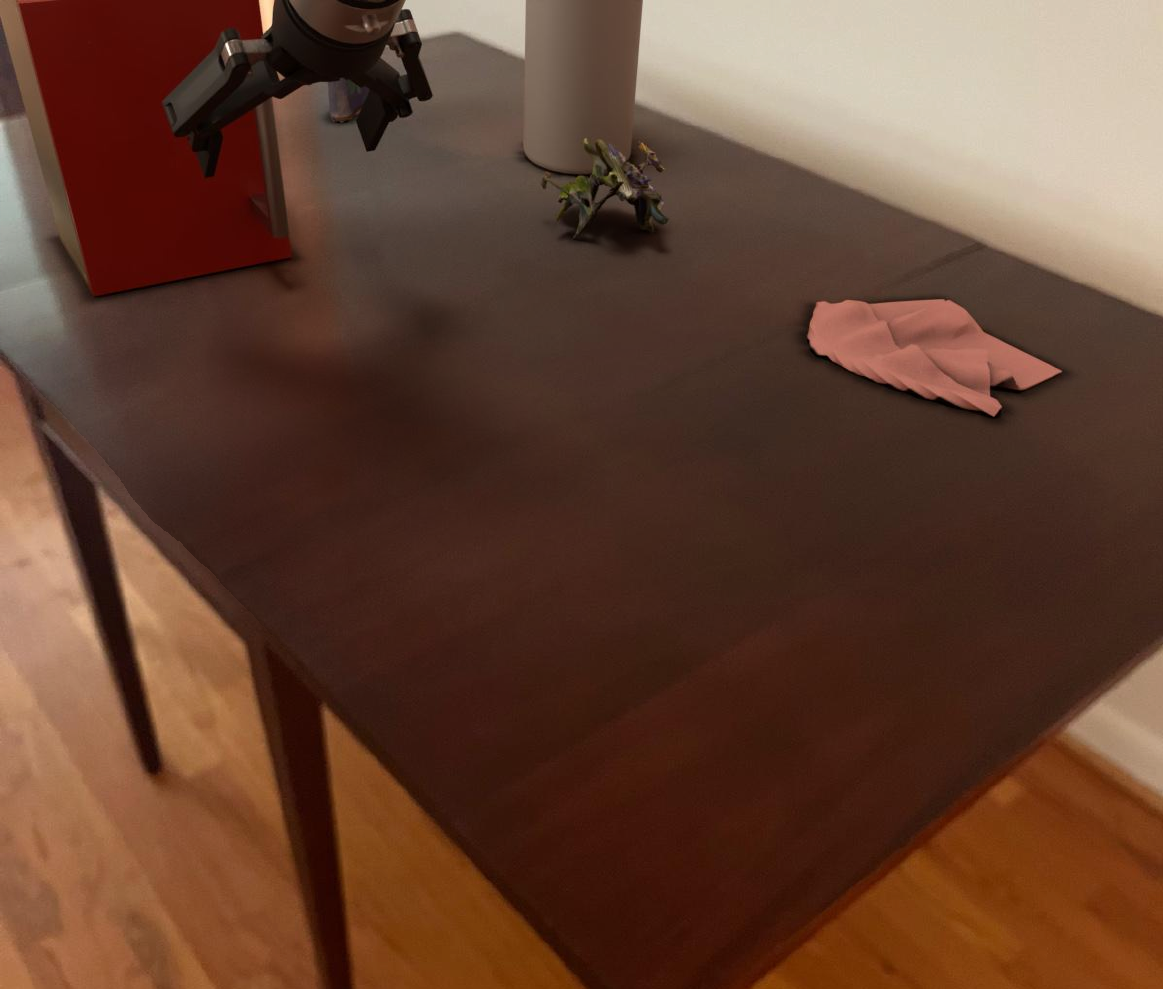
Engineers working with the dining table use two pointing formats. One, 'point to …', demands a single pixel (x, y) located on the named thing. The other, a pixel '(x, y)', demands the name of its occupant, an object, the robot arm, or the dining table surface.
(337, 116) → the flask
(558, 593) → the dining table surface
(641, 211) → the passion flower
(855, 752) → the dining table surface
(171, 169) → the valve door
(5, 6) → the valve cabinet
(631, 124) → the cylinder vase
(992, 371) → the cloth
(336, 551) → the dining table surface
